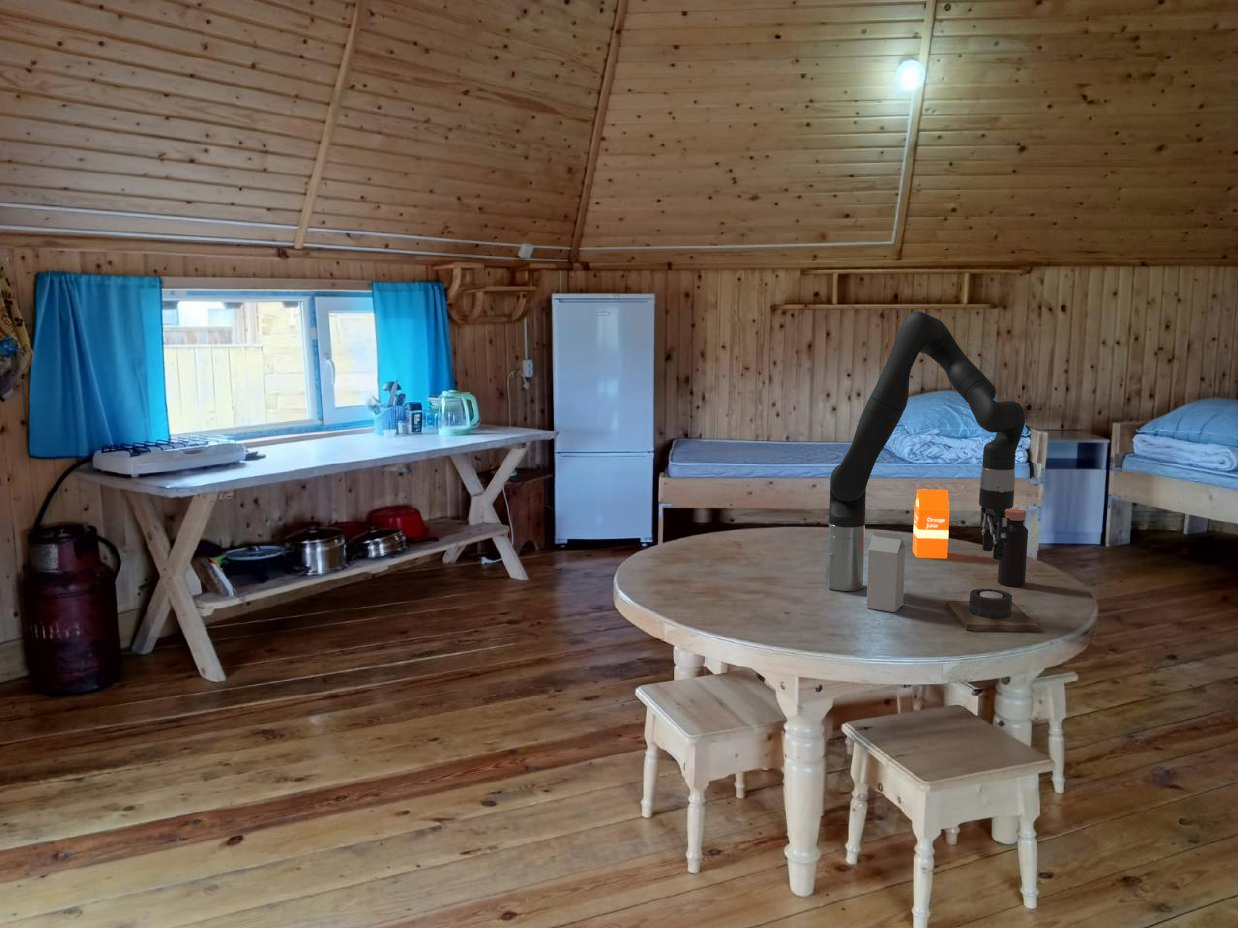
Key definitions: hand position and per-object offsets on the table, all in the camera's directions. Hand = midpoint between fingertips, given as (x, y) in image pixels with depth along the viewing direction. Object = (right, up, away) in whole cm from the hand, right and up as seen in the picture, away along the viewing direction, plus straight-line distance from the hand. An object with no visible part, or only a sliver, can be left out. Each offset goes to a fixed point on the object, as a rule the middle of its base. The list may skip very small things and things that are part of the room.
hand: (992, 555), depth 222 cm
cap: (0, -14, +2) cm, 14 cm away
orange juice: (+5, -6, +62) cm, 62 cm away
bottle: (+17, -11, +31) cm, 37 cm away
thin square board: (0, -15, +3) cm, 16 cm away
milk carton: (-22, -14, +12) cm, 29 cm away
